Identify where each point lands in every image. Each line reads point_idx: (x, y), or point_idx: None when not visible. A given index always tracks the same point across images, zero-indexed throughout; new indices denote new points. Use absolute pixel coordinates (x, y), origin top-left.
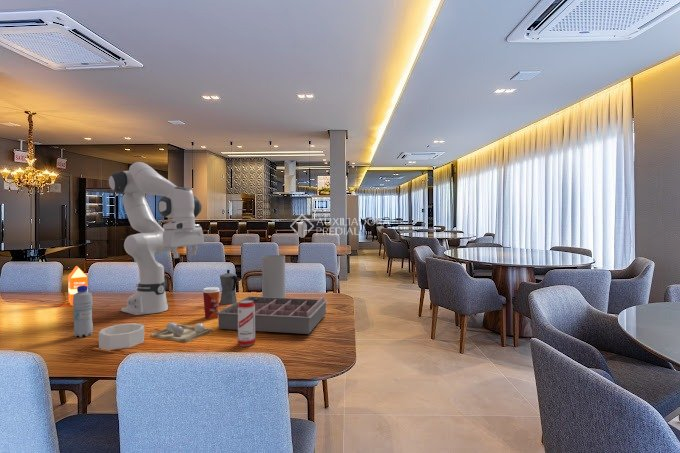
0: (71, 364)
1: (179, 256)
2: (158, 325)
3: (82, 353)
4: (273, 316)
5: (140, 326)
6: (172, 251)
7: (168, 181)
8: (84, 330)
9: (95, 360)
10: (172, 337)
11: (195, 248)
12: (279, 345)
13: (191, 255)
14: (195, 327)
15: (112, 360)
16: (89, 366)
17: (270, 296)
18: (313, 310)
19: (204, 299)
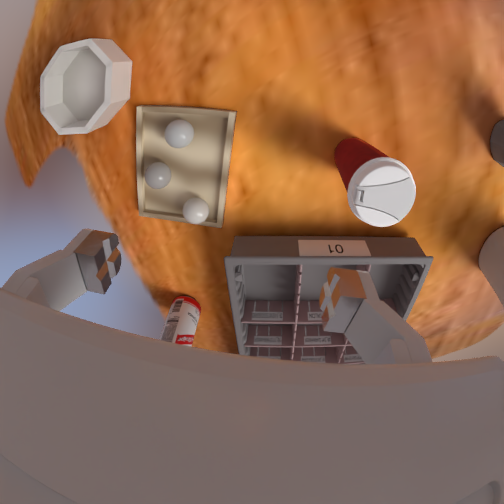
0: (19, 109)
1: (115, 273)
2: (243, 37)
3: (43, 71)
4: (239, 353)
5: (106, 98)
6: (34, 268)
7: None
8: None
9: (35, 125)
10: (137, 177)
11: (372, 362)
12: (201, 338)
13: (327, 278)
14: (183, 209)
15: (44, 150)
16: (24, 141)
17: (487, 261)
18: None
19: (351, 162)
